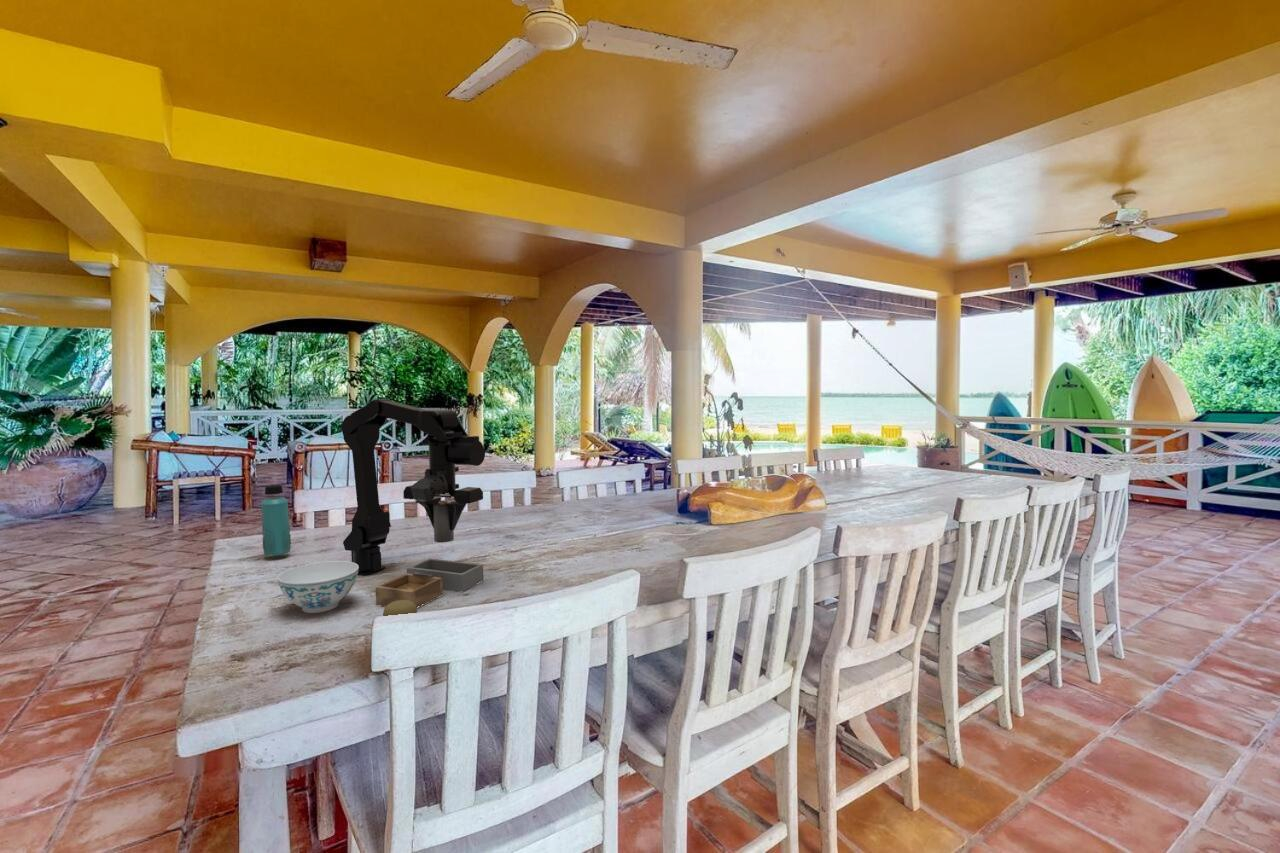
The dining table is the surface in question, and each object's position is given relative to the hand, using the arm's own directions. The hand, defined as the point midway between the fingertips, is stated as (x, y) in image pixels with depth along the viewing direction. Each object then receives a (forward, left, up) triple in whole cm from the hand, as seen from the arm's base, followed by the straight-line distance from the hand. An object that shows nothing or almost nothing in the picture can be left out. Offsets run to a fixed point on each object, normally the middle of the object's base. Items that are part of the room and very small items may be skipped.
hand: (443, 529), depth 137 cm
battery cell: (0, 0, -2) cm, 2 cm away
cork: (+20, -37, -13) cm, 44 cm away
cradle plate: (0, -12, -12) cm, 17 cm away
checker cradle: (0, -12, -13) cm, 18 cm away
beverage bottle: (-57, +2, -13) cm, 59 cm away
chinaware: (-15, -21, -13) cm, 29 cm away
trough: (0, 0, -13) cm, 13 cm away
